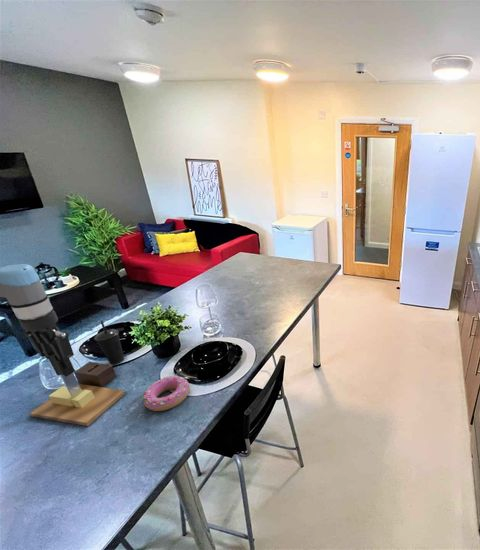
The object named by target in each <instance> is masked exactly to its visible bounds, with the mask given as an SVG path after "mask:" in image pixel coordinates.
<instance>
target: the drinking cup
mask: <svg viewBox="0 0 480 550" xmlns="http://www.w3.org/2000/svg"><path fill="white" fill-rule="evenodd" d="M100 324H101V327H102V329H103V331H101V332H99V333H97V334H96V335H95V336H94V340H95V342H97V344H98V345H99V347H100V349H101V351H102V352H103V354H104V356H105V358H106V359H107V361H108V363H109V365H117V364H120V363H122V362H123V361H124V360H125V356H124V351H123V347H122V343H121V339H120V335H119V334H120V331H119V330H118V329H116V328H110V329H107V328H106V327H105V323H104V321H103V320H101V321H100Z"/></svg>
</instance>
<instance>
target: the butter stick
mask: <svg viewBox="0 0 480 550" xmlns="http://www.w3.org/2000/svg"><path fill="white" fill-rule="evenodd" d="M81 390H82V389H81ZM82 391H83V390H82ZM82 391H80V392H79V393H78V394H80V393H81V392H82ZM78 394H76V395H75V396H74V397H76V396H77V395H78ZM74 397H72V396H71V395H70V393H69V391H68V389H67V387H66V385H65V386H64V385H62V386H61V387H59V388H58V389H56V390H55V391H53V392H52V393H50V394H49V395H48V398H49V399H51V401H52V403H54V404H60V405H66V406H74V403H73V401H72V399H73V398H74Z"/></svg>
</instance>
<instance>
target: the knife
mask: <svg viewBox="0 0 480 550" xmlns="http://www.w3.org/2000/svg"><path fill="white" fill-rule="evenodd" d="M49 357H50V359H51V361H52V363H53V365H54V367H55V369H56V371H57V373H58V374H59V375H58V376H60V378H61V379H62V381H63V383H64V385H65V387H67V389H68V391H69V393H70V395H71V396H72V397H74V396H75V395H76V394H78V393H79V392H80V391H82V390H81V388H80V386H79V382H78V380H77V378H76V376H75V374H74V372H73V373H72V374H70V375H69V376H67V377H65V376H64V374H63V372H62V370H61V368H60V366H59V364H58V362H56V361H57V360H59V359H58V358H57V356H56V355H55V353H52V354H50V355H49Z"/></svg>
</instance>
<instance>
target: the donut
mask: <svg viewBox="0 0 480 550" xmlns="http://www.w3.org/2000/svg"><path fill="white" fill-rule="evenodd" d="M174 389H175V390H174ZM169 390H174V391H173V392H172V393H170V394H168V395H166V396H162V397H160V395H161V394H163V393H164V392H166V391H167V392H168V391H169ZM189 393H190V383H189V381H188V380H187V379H186V378H185V377H183V376H178V375H168V376H165V377H163V378H160V379H158V380H156V381H155V382H153V383H151V384H150V385H149V386H148V387H147V388H146V389H145V390H144V392H143V395H142V396H141V397H142V401H143V404H144V406H145V407H146V408H147V409H148V410H151V411H152V412H162V411H167V410H170V409H173V408H175V407H177V406H178V405H180V404H181V403H182V402H184V400H185V399H187V397H188V395H189Z"/></svg>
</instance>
